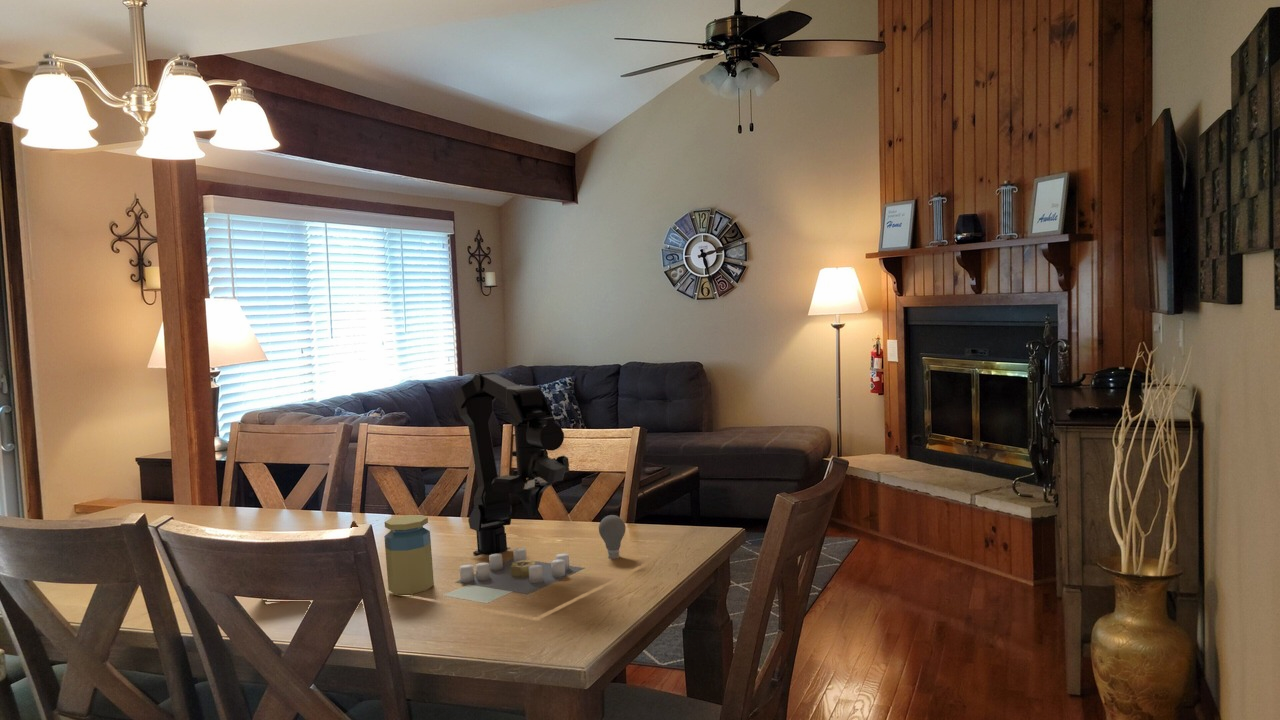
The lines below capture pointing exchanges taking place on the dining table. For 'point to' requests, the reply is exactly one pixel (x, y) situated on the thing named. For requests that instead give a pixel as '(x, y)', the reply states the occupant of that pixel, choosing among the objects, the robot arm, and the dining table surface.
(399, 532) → the jar
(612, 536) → the light bulb
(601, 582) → the dining table surface
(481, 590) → the tile
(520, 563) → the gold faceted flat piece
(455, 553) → the dining table surface
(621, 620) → the dining table surface
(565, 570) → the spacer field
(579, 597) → the dining table surface
